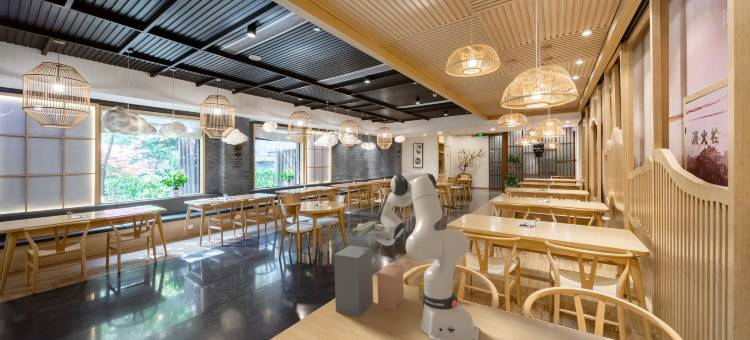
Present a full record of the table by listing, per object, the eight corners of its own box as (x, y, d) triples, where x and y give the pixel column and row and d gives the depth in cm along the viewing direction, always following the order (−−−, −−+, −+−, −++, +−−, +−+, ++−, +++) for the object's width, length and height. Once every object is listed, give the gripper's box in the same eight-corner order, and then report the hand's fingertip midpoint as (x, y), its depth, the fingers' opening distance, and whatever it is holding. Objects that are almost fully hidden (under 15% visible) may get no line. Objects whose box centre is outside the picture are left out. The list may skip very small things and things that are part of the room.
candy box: (419, 300, 134) (419, 283, 134) (419, 298, 137) (418, 281, 136) (453, 300, 134) (453, 283, 134) (452, 298, 136) (452, 281, 136)
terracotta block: (403, 297, 138) (402, 266, 137) (394, 310, 126) (393, 276, 126) (388, 294, 141) (387, 264, 140) (378, 306, 130) (377, 273, 129)
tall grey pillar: (373, 301, 134) (371, 248, 133) (359, 317, 122) (357, 257, 120) (351, 297, 139) (350, 245, 138) (335, 311, 127) (334, 254, 126)
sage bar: (376, 227, 148) (376, 221, 148) (359, 237, 131) (359, 230, 131) (370, 226, 150) (369, 221, 150) (352, 236, 133) (352, 229, 132)
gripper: (364, 225, 162) (353, 218, 151) (397, 228, 153) (388, 220, 142) (361, 236, 159) (351, 229, 148) (395, 240, 150) (386, 233, 139)
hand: (369, 225), depth 145 cm, fingers closed on sage bar, 4 cm apart
